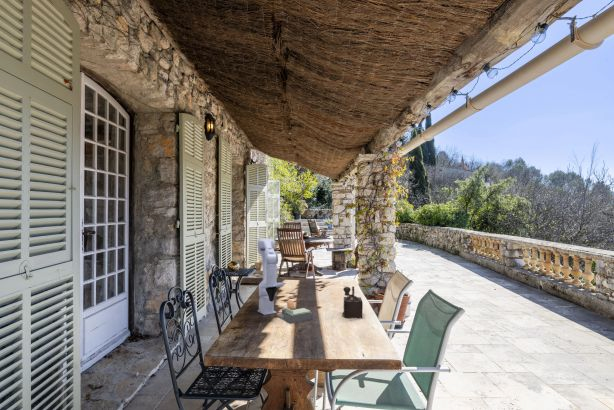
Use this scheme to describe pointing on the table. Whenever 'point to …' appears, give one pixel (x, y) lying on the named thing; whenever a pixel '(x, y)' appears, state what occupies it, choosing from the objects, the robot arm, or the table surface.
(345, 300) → the manual coffee grinder
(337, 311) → the table surface
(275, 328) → the table surface
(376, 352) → the table surface
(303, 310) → the lid
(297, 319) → the housing
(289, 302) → the tan cylindrical peg
